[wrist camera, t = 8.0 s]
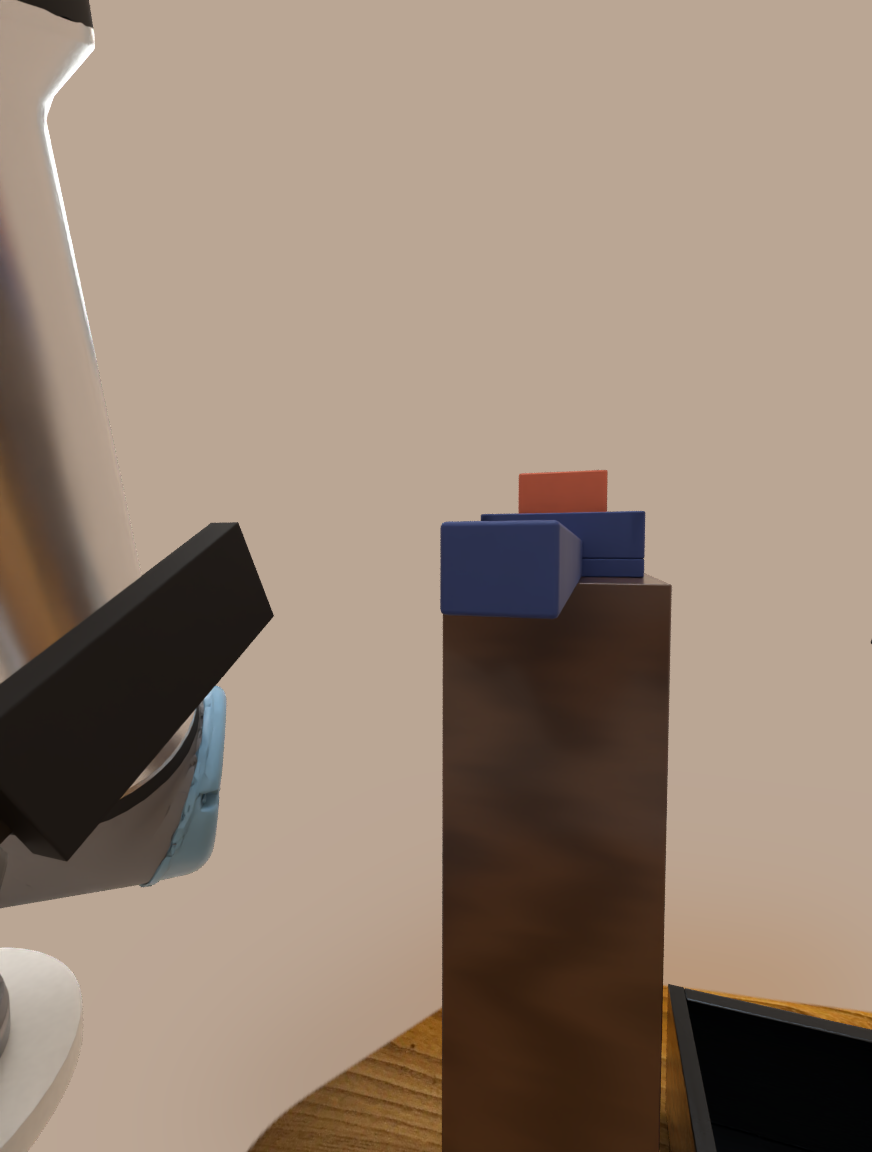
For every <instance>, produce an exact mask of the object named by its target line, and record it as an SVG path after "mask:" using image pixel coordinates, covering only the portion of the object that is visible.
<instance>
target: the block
mask: <svg viewBox="0 0 872 1152" xmlns="http://www.w3.org/2000/svg"><path fill="white" fill-rule="evenodd" d="M572 512H607V470H592V471H569V472H546V473H522V474H520V475H519V514H522V513H572Z"/></svg>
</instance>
